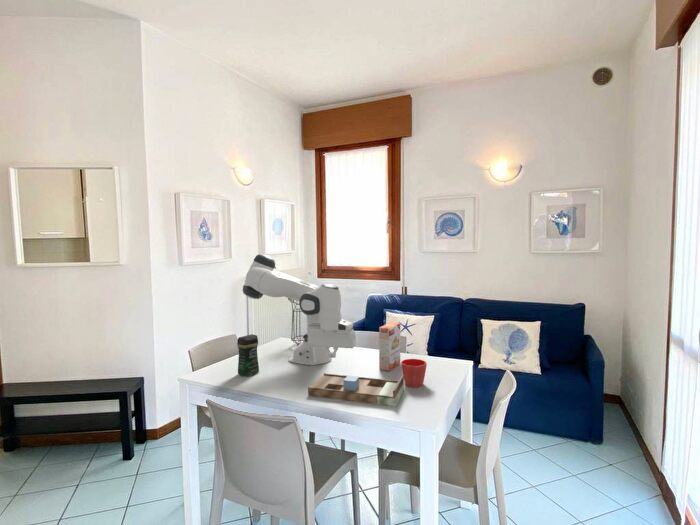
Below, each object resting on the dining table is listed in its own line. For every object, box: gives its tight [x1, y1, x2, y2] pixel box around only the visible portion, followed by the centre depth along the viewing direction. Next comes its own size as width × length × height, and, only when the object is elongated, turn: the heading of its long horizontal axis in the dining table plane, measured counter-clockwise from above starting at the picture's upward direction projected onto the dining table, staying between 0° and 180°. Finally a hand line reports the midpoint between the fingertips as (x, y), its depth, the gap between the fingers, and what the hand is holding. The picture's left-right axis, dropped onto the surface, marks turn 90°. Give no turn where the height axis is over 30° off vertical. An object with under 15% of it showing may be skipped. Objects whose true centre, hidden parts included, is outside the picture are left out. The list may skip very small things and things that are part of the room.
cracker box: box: [378, 321, 401, 372], centre depth 190 cm, size 14×6×21 cm, turn 150°
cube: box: [343, 375, 360, 391], centre depth 155 cm, size 5×5×4 cm
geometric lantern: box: [287, 298, 304, 346], centre depth 232 cm, size 16×16×35 cm
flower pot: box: [400, 358, 428, 388], centre depth 166 cm, size 11×11×10 cm
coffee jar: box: [236, 334, 260, 377], centre depth 184 cm, size 10×8×19 cm
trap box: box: [307, 373, 405, 407], centre depth 158 cm, size 36×17×6 cm, turn 71°
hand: (331, 357), depth 157 cm, fingers closed
